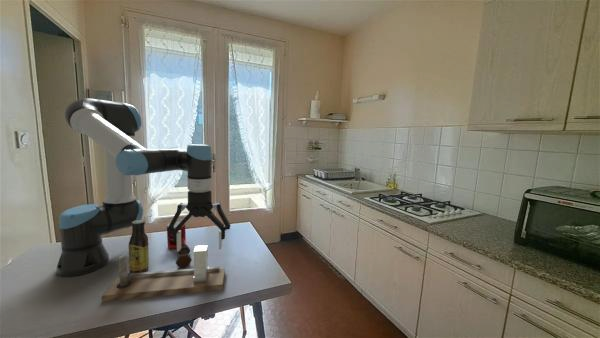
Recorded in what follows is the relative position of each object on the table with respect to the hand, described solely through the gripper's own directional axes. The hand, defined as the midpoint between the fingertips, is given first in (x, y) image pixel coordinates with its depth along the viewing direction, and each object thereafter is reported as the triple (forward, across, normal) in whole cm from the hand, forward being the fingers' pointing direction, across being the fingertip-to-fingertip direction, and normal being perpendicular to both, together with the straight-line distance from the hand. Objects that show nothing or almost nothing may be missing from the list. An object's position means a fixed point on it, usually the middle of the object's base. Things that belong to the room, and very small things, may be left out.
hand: (200, 248), depth 84 cm
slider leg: (+11, 0, 0) cm, 11 cm away
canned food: (+14, -16, +32) cm, 38 cm away
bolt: (+14, -10, +19) cm, 25 cm away
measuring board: (+13, -10, 0) cm, 16 cm away
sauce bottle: (+14, -24, +12) cm, 30 cm away
